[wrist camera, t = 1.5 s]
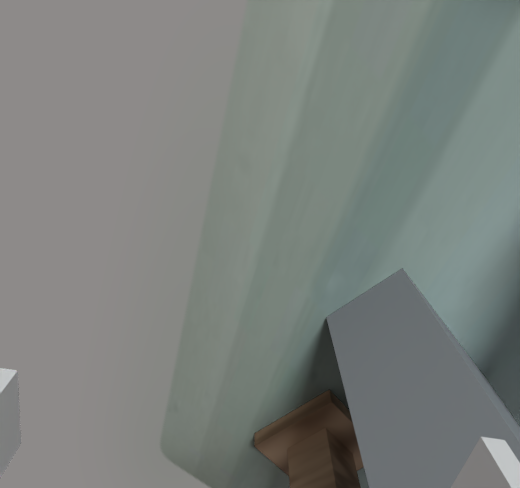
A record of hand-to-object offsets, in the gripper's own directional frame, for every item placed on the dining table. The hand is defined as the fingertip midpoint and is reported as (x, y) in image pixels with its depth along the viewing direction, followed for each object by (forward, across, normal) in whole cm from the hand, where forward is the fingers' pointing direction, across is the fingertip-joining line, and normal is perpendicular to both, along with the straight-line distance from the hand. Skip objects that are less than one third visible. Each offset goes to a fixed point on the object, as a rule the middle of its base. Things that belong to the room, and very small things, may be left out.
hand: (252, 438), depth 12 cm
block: (+30, +22, -18) cm, 42 cm away
